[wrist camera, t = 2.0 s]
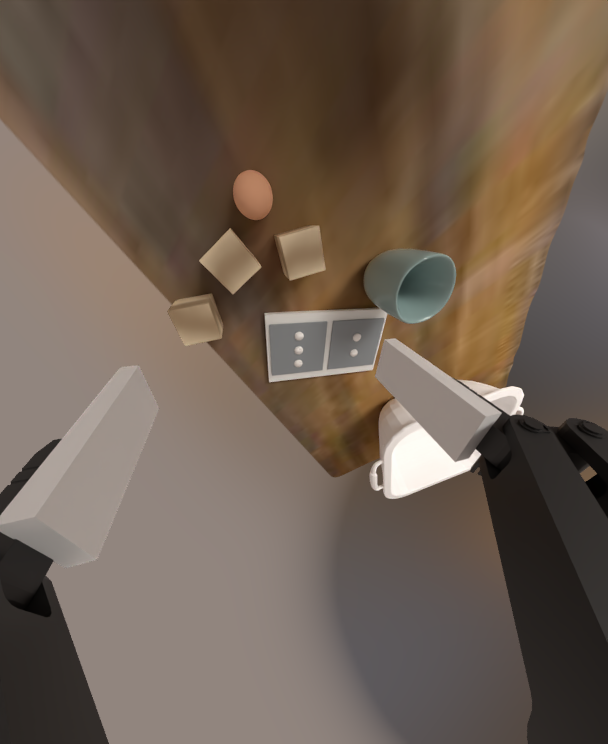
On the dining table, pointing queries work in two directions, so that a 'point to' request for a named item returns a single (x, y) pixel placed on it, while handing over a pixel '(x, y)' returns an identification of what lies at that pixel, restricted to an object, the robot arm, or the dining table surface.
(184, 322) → the block
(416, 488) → the baking dish
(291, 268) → the block
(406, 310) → the cup
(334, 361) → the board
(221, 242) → the block
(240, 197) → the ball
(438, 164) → the dining table surface
